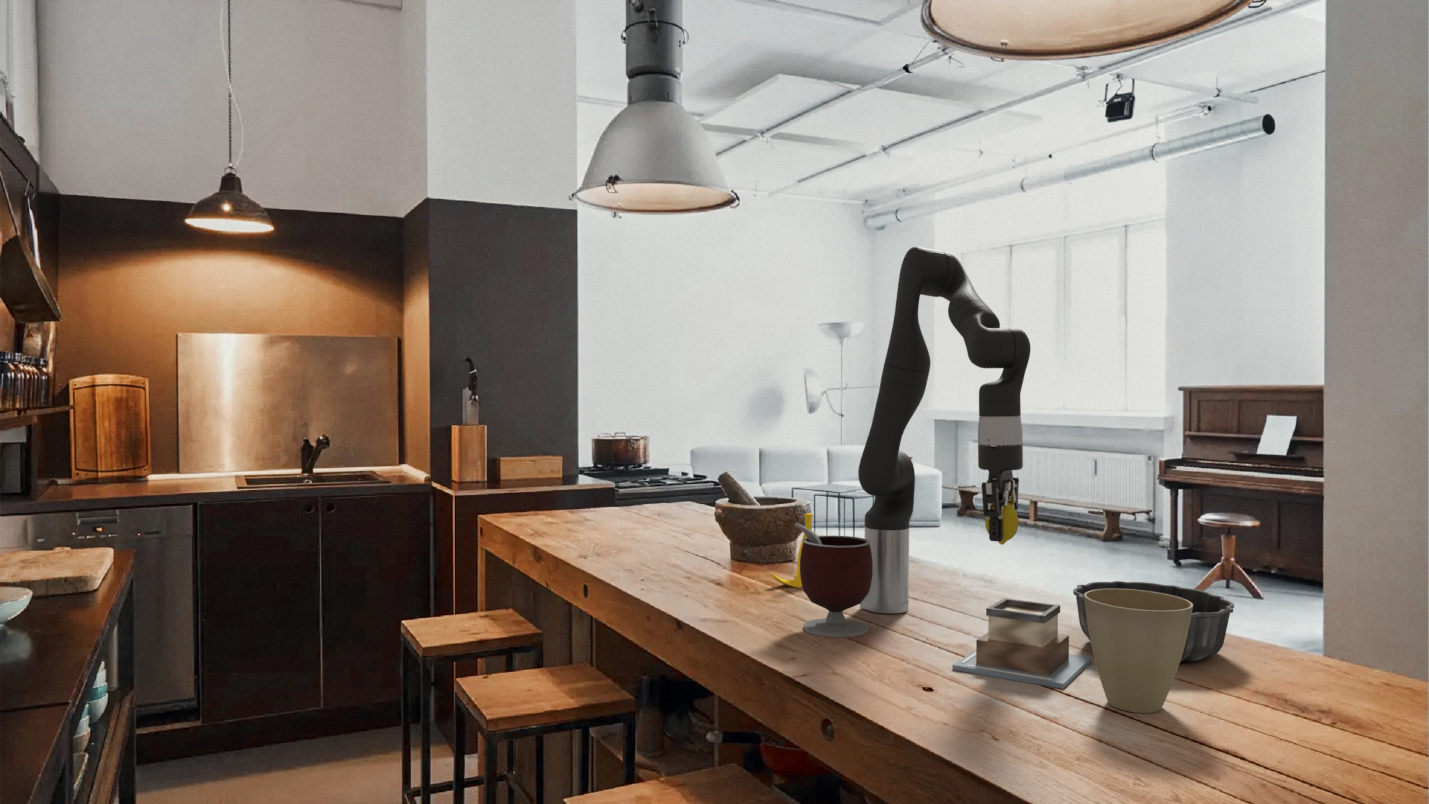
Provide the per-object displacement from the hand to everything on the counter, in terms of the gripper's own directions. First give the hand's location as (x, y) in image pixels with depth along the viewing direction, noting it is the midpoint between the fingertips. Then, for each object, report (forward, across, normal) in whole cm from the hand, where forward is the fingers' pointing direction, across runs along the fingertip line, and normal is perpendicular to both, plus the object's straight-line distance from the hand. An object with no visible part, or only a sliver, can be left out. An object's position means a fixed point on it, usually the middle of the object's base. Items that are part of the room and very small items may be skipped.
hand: (1001, 538), depth 175 cm
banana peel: (+19, -33, -58) cm, 69 cm away
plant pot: (+21, +16, +24) cm, 36 cm away
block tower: (+21, +5, +5) cm, 22 cm away
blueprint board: (+21, +5, +5) cm, 22 cm away
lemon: (+1, 0, 0) cm, 1 cm away
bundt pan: (+21, -18, +21) cm, 35 cm away
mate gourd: (+20, 0, -33) cm, 39 cm away
